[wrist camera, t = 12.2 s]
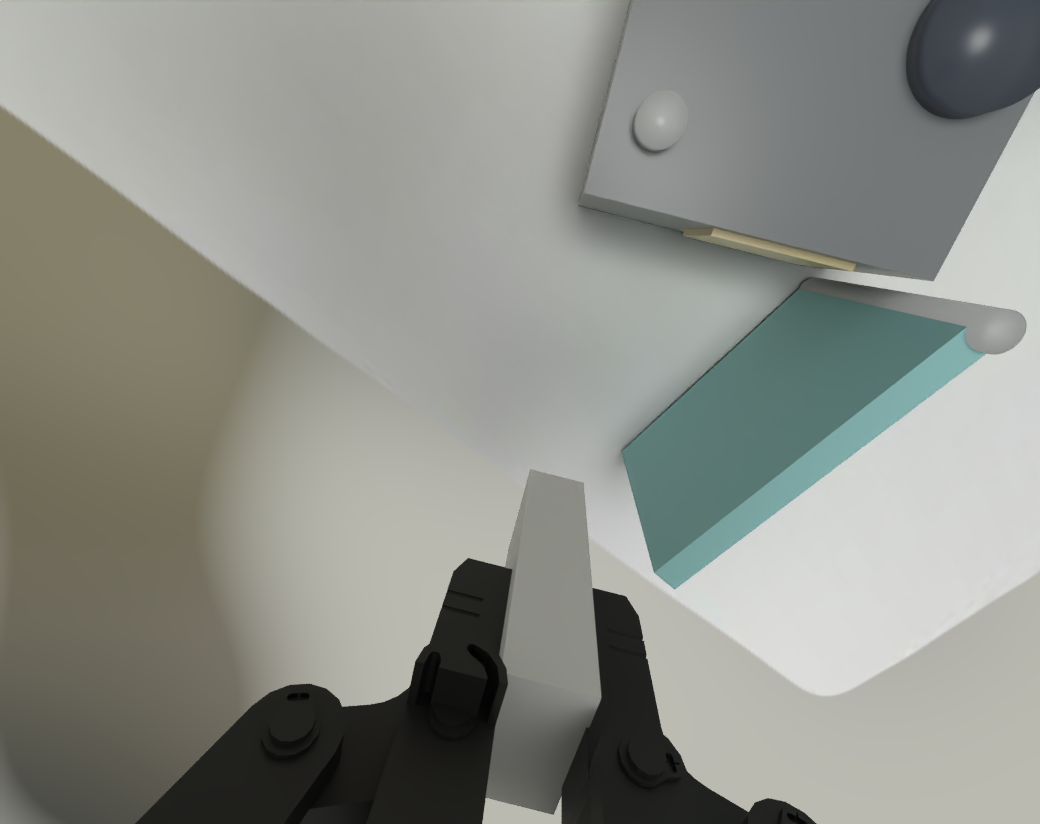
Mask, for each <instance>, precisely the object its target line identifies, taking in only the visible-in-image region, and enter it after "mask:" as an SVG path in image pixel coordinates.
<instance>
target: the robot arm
mask: <svg viewBox="0 0 1040 824" xmlns="http://www.w3.org/2000/svg"><path fill="white" fill-rule="evenodd" d="M642 638H643V635H642V630H641V625H640V620H639V616H638V614H637V613H636V611H635V610H634V608H633V607H632V605H631V604H630V602H629V601H628V599H627V597H625V596H622V595H618V594H614V593H610V592H606V591H602V590H599V589H594V588H592V580H591V568H590V556H589V543H588V531H587V519H586V507H585V495H584V483H582V482H578V481H574V480H570V479H566V478H562V477H558V476H554V475H550V474H546V473H542V472H538V471H534V470H530V473H529V476H528V480H527V484H526V487H525V491H524V495H523V498H522V502H521V506H520V509H519V514H518V517H517V521H516V524H515V528H514V531H513V535H512V539H511V542H510V546H509V550H508V555H507V561H506V566H505V567H501V566H497V565H493V564H489V563H485V562H481V561H477V560H473V559H469V558H468V559H467V560H466V561H464V562H463V563H462V564H461V565H460V566H459V567H458V568H457V569H456V570H455V571H454V572H453V575H452V578H451V581H450V584H449V587H448V590H447V593H446V596H445V599H444V602H443V605H442V609H441V611H440V614H439V618H438V620H437V623H436V626H435V629H434V632H433V635H432V639H431V641H430V644H429V645H427V646H426V647H424V649H423V650H422V652H421V653H420V655H419V657H418V658H417V660H416V661H415V666H414V671H413V676H412V681H411V685H410V687H409V688H408V689H407V690H406V691H404V692H403V693H402V694H400V695H399V696H397V697H395V698H392V699H390V700H388V701H385V702H382V703H377V704H371V705H360V706H348V707H342V706H341V703H340V701H339V699H338V698H337V697H335V696H334V695H333V694H332V693H331V692H330V691H328V690H327V689H325V688H322V687H319V686H315V685H312V684H299V685H289V686H286V687H283V688H281V689H278V690H275V691H273V692H270V693H269V694H268V695H266V696H265V697H263V698H262V699H261V700H259V701H258V702H257V703H255V704H254V705H253V706H251V708H250V709H248V711H247V712H246V713H245V714H244V715H243V716H242V717H241V718H240V719H239V720H238V721H237V722H236V723H235V724H234V725H233V726H232V727H231V728H230V729H229V730H228V731H227V732H226V733H225V734H224V735H223V736H222V737H221V738H220V739H219V740H218V741H217V742H216V743H215V744H214V745H213V746H212V747H211V748H210V749H209V750H208V751H207V752H206V753H205V754H204V755H203V756H202V757H201V758H200V759H199V760H198V761H197V762H196V763H195V764H194V765H193V766H192V767H191V768H190V769H189V770H188V771H187V772H186V773H185V774H184V775H183V776H182V777H181V778H180V779H179V780H178V781H177V782H176V783H175V784H174V785H173V786H172V787H171V788H170V789H169V790H168V791H167V792H166V793H165V794H164V795H163V796H162V797H161V798H160V799H159V800H158V801H157V802H156V803H155V804H154V805H153V806H152V807H151V808H150V809H149V810H148V811H147V813H145V814H144V815H143V817H141V818H140V819H139V820H138V821H137V822H136V823H135V824H482V820H483V813H484V805H485V798H490V799H494V800H497V801H501V802H506V803H509V804H513V805H517V806H521V807H525V808H529V809H533V810H537V811H541V812H545V813H549V814H554V812H555V810H556V807H557V805H558V803H559V800H560V798H561V795H562V824H816V823H815V822H814V821H813V820H812V819H811V818H810V817H808V816H807V815H806V814H805V813H804V812H802V811H800V810H798V809H797V808H795V807H793V806H791V805H790V804H788V803H786V802H783V801H778V800H774V799H769V798H768V799H764V800H761V801H759V802H756V803H754V805H753V806H752V808H751V810H750V811H749V812H747V811H746V810H744V809H742V808H740V807H739V806H737V805H735V804H734V803H732V802H730V801H729V800H727V799H725V798H724V797H722V796H720V795H719V794H717V793H715V792H714V791H712V790H710V789H708V788H707V787H706V786H704V785H703V784H701V783H700V782H698V781H697V780H696V779H694V778H693V777H692V776H691V775H690V774H689V773H688V772H687V770H686V768H685V765H684V763H683V761H682V758H681V755H680V754H679V753H678V751H677V750H676V749H675V747H674V746H673V745H672V743H671V742H670V741H669V739H668V738H667V737H665V736H664V735H663V732H662V729H661V724H660V720H659V715H658V710H657V705H656V700H655V695H654V690H653V685H652V680H651V675H650V670H649V665H648V660H647V659H646V651H645V645H644V641H642Z"/></svg>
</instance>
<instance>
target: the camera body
mask: <svg viewBox="0 0 1040 824" xmlns="http://www.w3.org/2000/svg"><path fill="white" fill-rule="evenodd" d="M1039 88H1040V0H631V1H630V5H629V9H628V13H627V17H626V21H625V25H624V28H623V32H622V36H621V40H620V44H619V48H618V52H617V56H616V60H615V63H614V67H613V71H612V75H611V79H610V83H609V87H608V91H607V95H606V99H605V102H604V106H603V110H602V114H601V118H600V122H599V126H598V130H597V134H596V138H595V141H594V145H593V149H592V153H591V157H590V161H589V165H588V169H587V173H586V176H585V180H584V184H583V188H582V192H581V196H580V200H579V204H578V205H579V206H583V207H587V208H591V209H595V210H599V211H603V212H607V213H611V214H614V215H618V216H622V217H626V218H630V219H634V220H638V221H642V222H646V223H650V224H654V225H658V226H662V227H666V228H670V229H674V230H678V231H682V232H684V233H683V236H686V237H690V238H694V239H698V240H702V241H705V242H709V243H713V244H717V245H721V246H725V247H729V248H733V249H737V250H741V251H745V252H749V253H753V254H757V255H761V256H765V257H769V258H773V259H777V260H781V261H785V262H789V263H793V264H797V265H804V266H812V267H820V268H828V269H837V270H845V271H854V272H862V273H870V274H878V275H887V276H895V277H903V278H911V279H919V280H928V281H934V279H935V277H936V276H937V274H938V272H939V270H940V268H941V266H942V264H943V262H944V261H945V259H946V257H947V255H948V253H949V251H950V249H951V247H952V246H953V244H954V242H955V240H956V238H957V236H958V234H959V233H960V231H961V229H962V227H963V225H964V223H965V221H966V219H967V218H968V216H969V214H970V212H971V210H972V208H973V206H974V204H975V203H976V201H977V199H978V197H979V195H980V193H981V191H982V189H983V188H984V186H985V184H986V182H987V180H988V178H989V176H990V174H991V173H992V171H993V169H994V167H995V165H996V163H997V161H998V160H999V158H1000V156H1001V154H1002V152H1003V150H1004V148H1005V146H1006V145H1007V143H1008V141H1009V139H1010V137H1011V135H1012V133H1013V131H1014V130H1015V128H1016V126H1017V124H1018V122H1019V120H1020V118H1021V116H1022V115H1023V113H1024V111H1025V109H1026V107H1027V105H1028V103H1029V102H1030V100H1031V98H1032V96H1033V94H1034V92H1035V91H1036V90H1037V89H1039Z"/></svg>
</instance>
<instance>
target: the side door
mask: <svg viewBox="0 0 1040 824" xmlns="http://www.w3.org/2000/svg"><path fill="white" fill-rule="evenodd" d="M1025 332H1026V320H1025V318H1024V316H1023V315H1022V314H1021V313H1019V312H1017V311H1015V310H1009V309H1003V308H997V307H991V306H985V305H979V304H973V303H967V302H961V301H955V300H949V299H943V298H937V297H930V296H924V295H918V294H912V293H906V292H900V291H894V290H888V289H882V288H876V287H870V286H864V285H858V284H852V283H846V282H840V281H833V280H827V279H821V278H810V279H807V280H806V281H804V282H803V283H802V285H801V286H800V288H799V289H798V290H797V291H796V292H795V293H794V294H793V295H792V296H791V297H790V298H788V299H787V300H786V301H785V302H784V303H783V304H782V305H781V306H780V307H779V308H778V309H776V310H775V311H774V312H773V313H772V314H771V315H770V316H769V317H768V318H767V319H766V320H764V321H763V322H762V323H761V324H760V325H759V326H758V327H757V328H756V329H755V330H754V331H752V332H751V333H750V334H749V335H748V336H747V337H746V338H745V339H744V340H743V341H742V342H741V343H739V344H738V345H737V346H736V347H735V348H734V349H733V350H732V351H731V352H730V353H729V354H727V355H726V356H725V357H724V358H723V359H722V360H721V361H720V362H719V363H718V364H717V365H715V366H714V367H713V368H712V369H711V370H710V371H709V372H708V373H707V374H706V375H705V376H703V377H702V378H701V379H700V380H699V381H698V382H697V383H696V384H695V385H694V386H693V387H692V388H690V389H689V390H688V391H687V392H686V393H685V394H684V395H683V396H682V397H681V398H680V399H678V400H677V401H676V402H675V403H674V404H673V405H672V406H671V407H670V408H669V409H668V410H666V411H665V412H664V413H663V414H662V415H661V416H660V417H659V418H658V419H657V420H656V421H654V422H653V423H652V424H651V425H650V426H649V427H648V428H647V429H646V430H645V431H644V432H642V433H641V434H640V435H639V436H638V437H637V438H636V439H635V440H634V441H633V442H632V443H631V444H629V445H628V446H627V447H626V448H625V449H624V450H623V451H622V455H623V459H624V462H625V466H626V470H627V474H628V477H629V481H630V485H631V488H632V492H633V496H634V500H635V503H636V507H637V511H638V515H639V518H640V522H641V526H642V529H643V533H644V537H645V541H646V544H647V548H648V552H649V555H650V559H651V563H652V567H653V570H654V573H655V574H656V575H658V576H659V577H660V578H661V579H663V580H664V581H665V582H666V583H667V584H669V585H670V586H671V587H672V588H673V589H676V588H677V587H678V586H680V585H681V584H682V583H684V582H685V581H686V580H688V579H689V578H690V577H692V576H693V575H694V574H696V573H697V572H698V571H700V570H701V569H702V568H704V567H705V566H706V565H708V564H709V563H710V562H711V561H713V560H714V559H715V558H717V557H718V556H719V555H721V554H722V553H723V552H725V551H726V550H727V549H729V548H730V547H731V546H733V545H734V544H735V543H737V542H738V541H739V540H741V539H742V538H743V537H745V536H746V535H747V534H749V533H750V532H751V531H752V530H754V529H755V528H756V527H758V526H759V525H760V524H762V523H763V522H764V521H766V520H767V519H768V518H770V517H771V516H772V515H774V514H775V513H776V512H778V511H779V510H780V509H782V508H783V507H784V506H786V505H787V504H788V503H790V502H791V501H792V500H793V499H795V498H796V497H797V496H799V495H800V494H801V493H803V492H804V491H805V490H807V489H808V488H809V487H811V486H812V485H813V484H815V483H816V482H817V481H819V480H820V479H821V478H823V477H824V476H825V475H827V474H828V473H829V472H831V471H832V470H833V469H834V468H836V467H837V466H838V465H840V464H841V463H842V462H844V461H845V460H846V459H848V458H849V457H850V456H852V455H853V454H854V453H856V452H857V451H858V450H860V449H861V448H862V447H864V446H865V445H866V444H868V443H869V442H870V441H871V440H873V439H874V438H875V437H877V436H878V435H879V434H881V433H882V432H883V431H885V430H886V429H887V428H889V427H890V426H891V425H893V424H894V423H895V422H897V421H898V420H899V419H901V418H902V417H903V416H905V415H906V414H907V413H909V412H910V411H911V410H912V409H914V408H915V407H916V406H918V405H919V404H920V403H922V402H923V401H924V400H926V399H927V398H928V397H930V396H931V395H932V394H934V393H935V392H936V391H938V390H939V389H940V388H942V387H943V386H944V385H946V384H947V383H948V382H950V381H951V380H952V379H953V378H955V377H956V376H957V375H959V374H960V373H961V372H963V371H964V370H965V369H967V368H968V367H969V366H971V365H972V364H973V363H975V362H976V361H977V360H979V359H980V358H981V357H983V356H984V355H985V354H1001V353H1004V352H1007V351H1009V350H1010V349H1012V348H1013V347H1015V346H1016V345H1017V344H1018V343H1019V342H1020V341H1021V339H1022V338H1023V336H1024V334H1025Z"/></svg>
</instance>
